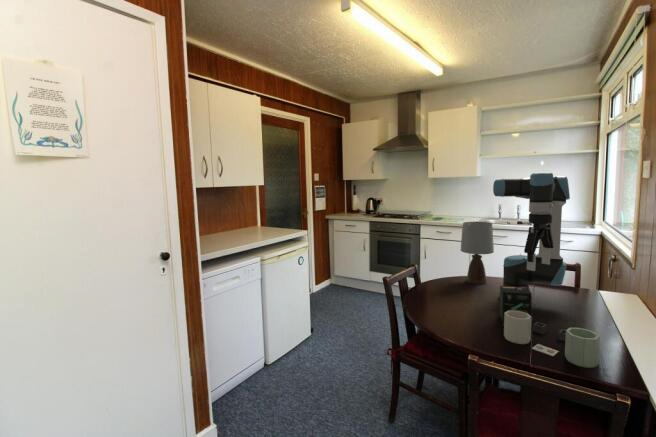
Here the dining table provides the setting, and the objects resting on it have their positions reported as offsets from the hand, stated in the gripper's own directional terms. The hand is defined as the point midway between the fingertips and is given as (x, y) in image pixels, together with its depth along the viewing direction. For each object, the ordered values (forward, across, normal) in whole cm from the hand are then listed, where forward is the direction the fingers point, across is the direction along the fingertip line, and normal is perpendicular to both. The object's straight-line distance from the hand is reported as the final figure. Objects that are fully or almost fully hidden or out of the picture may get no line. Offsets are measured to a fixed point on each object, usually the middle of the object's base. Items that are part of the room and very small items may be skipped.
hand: (538, 267), depth 128 cm
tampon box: (+29, +9, +12) cm, 33 cm away
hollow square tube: (+29, +6, -8) cm, 30 cm away
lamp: (+29, +50, +53) cm, 78 cm away
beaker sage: (+29, -8, -17) cm, 34 cm away
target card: (+29, -9, -6) cm, 31 cm away
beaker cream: (+29, -8, +4) cm, 30 cm away
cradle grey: (+29, +6, +1) cm, 29 cm away
